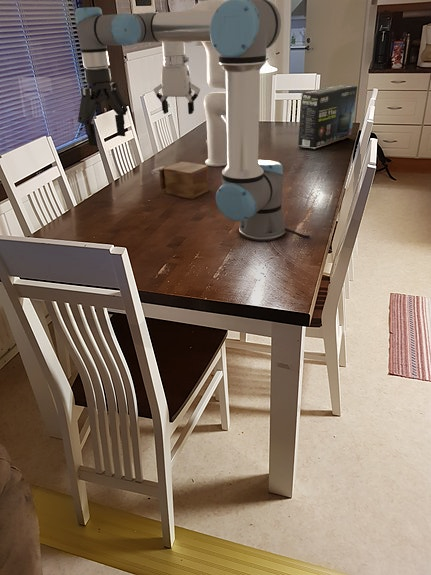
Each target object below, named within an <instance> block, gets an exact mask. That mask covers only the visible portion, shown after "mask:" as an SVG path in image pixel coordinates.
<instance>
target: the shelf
mask: <svg viewBox="0 0 431 575" xmlns="http://www.w3.org/2000/svg"><path fill="white" fill-rule="evenodd" d="M176 163H177V162H174V163H172V164H169V165H167V166H164V165H163V166H160V167H157V168H154V169H152V170H151V174H152V175H156V174H159V182H160V189H161V190H166V185H165V174H164V168H166V167H169V166H171V165H174V164H176Z"/></svg>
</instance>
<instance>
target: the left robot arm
mask: <svg viewBox="0 0 431 575" xmlns="http://www.w3.org/2000/svg"><path fill="white" fill-rule="evenodd" d="M226 1H227V0H201V1H199V2H197V3H195V4H194V5H193V6H191V7H190V8H185V9H183V10H180V11H179V12H184V11H205V10H217V9H218V7H219V6H220V5H221V4H223V3H224V2H226ZM191 43H192V42H161V46H162V56H163V57H162V58H163V65H162V67H161V83H160V84H159V85H157V86H155V87H154V88H153V92H154V94H155V96H156V98H158V100H159V101H160V103H161V110H162V113H163V114H164V115H165V114H168V113H169V104H168V103H169V102H168V100H167V99H168V98H184V97H185V99H187V101H188V102H187V110H188V111H187V112H188V115H192V114H193V113H194V112H195V105H194V104H195V103H194V101H195V100H196V99H197V98H198V97H199V94H200V92H201V88H200V87H198V86H197V85H195V84H193V83H192V78H191V72H190V68H189V65H188V64H187V63H189V62H190V57H188V56H186V48H185V47H186V46H185V44H191ZM201 43H202V46H203V48H204V51H205V53H206V54H205V55H206V83H207V86H208V87H209V88H211V89H216V90H217V89H219V90H220V89H222V90H226V73H225V70H224V68H223V67H222V66H221V65H220V64H219V53H218V52H217V51H216V48H215V47H214V46H213V44H212V42H201ZM160 90H161V92H162V93H161V92H160ZM193 91H194V94H193V95H192V93H193ZM203 108H204V113H205V120H206V121H205V122H206V137H207V139H206V140H207V142H208V145H207V159H205V161H204V165H207V166H208V167H216V168H218V167H219V168H220V167H226V166H227V121H226V118H225V117H224V116H226V91H212V92H208V93H206V94H205V96H204V97H203ZM207 142H206V143H207Z"/></svg>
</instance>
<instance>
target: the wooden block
mask: <svg viewBox="0 0 431 575" xmlns="http://www.w3.org/2000/svg"><path fill="white" fill-rule="evenodd" d="M175 163H176V164H174V163H173V164H174V165H171V164H170V165H171V166H169V165H168V166H169V167H166V166H165V167H166V168H164V174H165V185H166V189H165V193H166V194H169V195H173V196H177V197H180V198H181V197H182V198H187V199H190V200H193V199H195V198H197V197H199V196H201V195H203V194H205V193H207V192H209V191H210V186H209V184H210V182H209V181H210V180H209V166H208V165H206V164H200V163H195V162H190V161H189V162H188V161H182V160H181V161H179V162H175Z"/></svg>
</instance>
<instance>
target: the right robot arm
mask: <svg viewBox="0 0 431 575" xmlns="http://www.w3.org/2000/svg"><path fill="white" fill-rule="evenodd" d="M225 1H226V2H224V3H223V4H221V5H220V6H219V7H218V9H217V10H205V11H184V12H180V11H165V12H164V11H163V12H144V13H143V12H142V13H141V12H140V13H116V14H103V12H102V11H103V10H102V8H100V7H98V6H91V7H78V8H76V9H75V11H74V14H75V26H76V30H77V34H78V35H77V36H78V41H79V47H80V52H81V58H82V64H83V68H85V69H84V77H85V82H86V83H87V84H88V88H87V87H82V88H81V89H80V93H81V94H80V96H81V97H80V103H79V104H80V105H79V110H78V111H79V112H78V119H77V122H78V123H79V124H82V125H84V130H85V134H86V136H87V140H88V145H89V146H91V147H97V146H98V141H97V135H96V129H95V124H94V123H92V122H93V119H94V117H95V114H96V111H97V108H98V105H99V104H100V103H102V102H104V101H106V102H107V103H108V105H109V106H110V107H111V108H112V110H113V111H114V113H116V114H115V115H114V119H115V126H116V133H117V136H118V137H126V129H125V125H126V124H125V116H126V115H127V112H129V110H128V107H127V105H126V102H125V100H124V98H123V96H122V94H121V92H120V90H119V85H118V82H111V81H112V75H111V68H109V66H110V61H109V60H110V59H109V53H108V46H122V47H126V46H127V47H128V46H129V47H130V46H134V45H136V44H143V43H145V44H146V43H162V42H191V43H194V42H195V43H200V42H201V43H202V42H212V44H213V46H214V47H215V48H216V51H217V52H218V53H219V64H220V65H221V66H222V67H223V68H224V70H225V73H226V89H225V92H226V115H225V116H226V117H225V120H226V122H227V165H226V166H224V168H223V169H222V170H221V183H222V184H221V185H220V186H219V187H218V189H217V191H216V193H215V202H216V203H215V204H216V206H217V208H218V211H219V212H220V213H221V214H223V216H224V217H225V218H226V219H228V220H230V221H232V222H239V226H238V232H239V235H240V236H241V237H242V238H244V239H247V240H250V241H254V242H271V241H277V240H279V239H281V238H283V237H285V235H286V234H287V232H288V233H290V234H293V235H296V236H297V237H298V236H299V237H301V238H306V239H310V235H309V234H308V235H307V234H302V233H300V232H297V231H296V230H292V229H289V228H287V223H286V221H285V216H284V214H283V210H282V200H283V183H284V168H283V164H282V163H280V162H279V161H275V160H270V159H259V151H260V150H259V149H260V148H259V146H260V144H259V143H260V141H259V140H260V139H259V138H260V84H261V82H260V80H261V79H260V76H261V75H260V74H261V69H262V67H263V66H264V65H265V64H266V63H267V50H268V49H269V48H271V47H272V46H273V45H274V44H275V43H276V42H277V40H278V38H279V36H280V33H281V31H282V18H281V13H280V11H279V9H278V7H277V6H276V5H275V4H274V3H273V2H272V1H270V0H225Z"/></svg>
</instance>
